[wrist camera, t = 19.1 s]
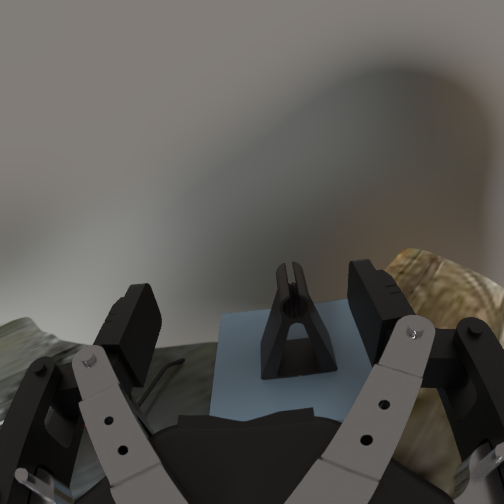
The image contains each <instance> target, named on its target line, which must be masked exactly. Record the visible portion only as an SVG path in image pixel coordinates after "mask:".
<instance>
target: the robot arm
mask: <svg viewBox="0 0 504 504" xmlns="http://www.w3.org/2000/svg"><path fill="white" fill-rule="evenodd" d="M347 297H348V304H349V308H350V311H351V313H352V316H353V318H354V321H355V323H356V326H357V329H358V331H359V334H360V336H361V339H362V342H363V344H364V347H365V350H366V352H367V355H368V358H369V361H370V363H371V366H372V370H371V372H370V374H369V376H368V378H367V380H366V382H365V384H364V386H363V388H362V390H361V391H360V393H359V395H358V397H357V399H356V401H355V402H354V404H353V406H352V408H351V409H350V411H349V413H348V415H347V416H346V418H345V420H344V421H343V423H342V422H339V421H337V420H333V419H330V418H325V417H319V416H314V410H313V407H310V408H303V409H295V410H286V411H278V412H275V413H272V414H269V415H266V416H262V417H259V418H255V419H252V420H248V421H237V420H232V419H226V418H221V417H216V416H211V415H201V416H187V415H179V417H178V424H177V425H173V426H170V427H167V428H165V429H162V430H160V431H158V432H157V433H154V431H153V430H152V428H151V427H150V425H149V423H148V422H147V420H146V418H145V417H144V415H143V413H142V411H141V410H140V408H139V406H138V404H137V402H136V401H135V399H134V397H133V395H132V394H131V391H132V388H133V387H144V383H145V380H146V376H147V373H148V369H149V366H150V362H151V359H152V356H153V352H154V349H155V345H156V342H157V339H158V336H159V332H160V329H161V325H162V318H161V314H160V310H159V308H158V305H157V302H156V299H155V297H154V294H153V291H152V288H151V286H150V285H149V284H148V283H145V284H134V285H130V287H129V289H128V291H127V292H126V294H125V296H124V297H121V298H120V299H119V300H118V301H117V302H116V303H115V304H114V305H113V306H112V308H111V310H110V312H109V315H108V316H107V318H106V319H105V323H104V324H103V325H102V327H101V329H100V331H99V333H98V335H97V337H96V340H95V342H94V344H93V345H91V346H87V347H85V348H83V349H81V350H80V351H79V352H77V354H76V355H75V356H74V358H73V360H72V362H70V363H66V364H62V365H58V366H57V364H56V363H55V361H54V360H53V359H52V358H51V357H47V356H45V357H41V358H38V359H37V360H35V361H34V362H33V363H32V364H31V365H30V366H29V368H28V370H27V372H26V374H25V376H24V378H23V380H22V382H21V384H20V386H19V388H18V390H17V393H16V395H15V397H14V399H13V401H12V404H11V406H10V408H9V411H8V413H7V415H6V418H5V420H4V422H3V425H2V427H1V430H0V504H504V349H503V348H502V346H501V344H500V343H499V341H498V340H497V338H496V336H495V335H494V333H493V332H492V330H491V329H490V327H489V326H488V325H487V324H486V323H485V322H484V321H482V320H480V319H478V318H473V317H468V318H464V319H462V320H461V321H460V322H459V323H458V325H457V327H456V329H437V328H434V325H433V324H432V323H431V322H430V321H429V320H428V319H426V318H424V317H422V316H418V315H416V314H415V312H414V311H413V309H412V308H411V306H410V304H409V303H408V301H407V299H406V298H405V296H404V295H403V293H401V290H400V288H399V287H398V286H397V284H396V282H395V281H394V279H393V278H392V276H391V275H389V274H388V273H386V272H385V271H383V270H375V268H374V266H373V265H372V263H371V262H370V260H369V259H363V260H356V261H350V263H349V274H348V292H347ZM420 387H421V388H437V390H438V393H439V395H440V398H441V400H442V403H443V406H444V409H445V411H446V414H447V417H448V420H449V423H450V426H451V428H452V431H453V434H454V437H455V441H456V444H457V447H458V450H459V453H460V457H461V460H462V463H461V464H460V466H459V467H458V468H457V470H456V473H455V476H454V484H455V489H454V494H453V496H452V498H451V497H450V496H449V495H448V494H447V493H445V492H444V491H442V490H441V489H439V488H438V487H436V486H434V485H433V484H431V483H430V482H428V481H427V480H425V479H424V478H422V477H420V476H419V475H417V474H416V473H414V472H413V471H411V470H410V469H408V468H407V467H406V466H404V465H403V464H401V463H400V462H398V461H397V460H395V459H394V458H392V455H393V453H394V451H395V449H396V446H397V444H398V442H399V440H400V437H401V435H402V433H403V431H404V428H405V426H406V423H407V421H408V418H409V416H410V413H411V411H412V408H413V406H414V403H415V400H416V397H417V395H418V392H419V389H420ZM49 406H51V407H52V408H53V409H54V410H55V411H54V413H53V416H52V419H51V422H50V425H49V428H48V431H46V429H45V425H44V421H45V417H46V414H47V412H48V409H49ZM85 425H86V428H87V430H88V433H89V436H90V438H91V441H92V443H93V446H94V448H95V451H96V453H97V456H98V458H99V460H100V463H101V465H102V467H103V469H104V471H105V474H106V476H105V477H104V478H103V479H102V480H100V481H99V482H98V483H97V484H96V485H95V486H93V487H92V488H91V489H90V490H89V491H87V492H86V493H85V494H84V495H82V496H81V497H80V498H79V499H78V500H76V501H74V500H73V496H72V493H71V490H70V489H69V487H70V482H71V477H72V473H73V468H74V464H75V460H76V456H77V452H78V448H79V444H80V440H81V436H82V433H83V429H84V426H85Z"/></svg>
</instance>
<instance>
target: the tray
mask: <svg viewBox="0 0 504 504" xmlns="http://www.w3.org/2000/svg"><path fill="white" fill-rule="evenodd" d="M314 305H315V307H316V309H317V311H318V313H319V315H320V317H321V319H322V321H323V323H324V325H325V327H326V329H327V331H328V333H329V335H330V339H331V343H332V347H333V351H334V355H335V359H336V363H337V367H338V370H337V371H335V372H328V373H321V374H314V375H306V376H301V375H299V376H298V377H290V378H280V379H270V380H262V379H261V348H260V342H261V339H262V336H263V333H264V330H265V327H266V324H267V321H268V317H269V314H270V311H271V309H264V310H255V311H245V312H235V313H224V314H222V315H221V322H220V330H219V338H218V346H217V354H216V362H215V371H214V379H213V388H212V396H211V405H210V414H209V415H211V416H216V417H221V418H226V419H232V420H237V421H248V420H252V419H255V418H259V417H262V416H266V415H269V414H272V413H275V412H278V411H286V410H295V409H303V408H310V407H313V410H314V416H319V417H325V418H330V419H333V420H337V421H339V422H343V421H344V420H345V418H346V416H347V415H348V413H349V411H350V409H351V408H352V406H353V404H354V402H355V401H356V399H357V397H358V395H359V393H360V391H361V390H362V388H363V386H364V384H365V382H366V380H367V378H368V376H369V374H370V372H371V370H372V366H371V363H370V361H369V358H368V355H367V352H366V350H365V347H364V344H363V342H362V339H361V336H360V334H359V331H358V329H357V326H356V323H355V321H354V318H353V316H352V313H351V311H350V308H349V304H348V299H343V300H335V301H328V302H322V303H314ZM300 338H308V334H307V332H306V330H305V327H304V325H303V324H301V323H294V324H292V325H291V326H290V328H289V332H288V336H287V340H292V339H300Z"/></svg>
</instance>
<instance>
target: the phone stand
mask: <svg viewBox="0 0 504 504" xmlns="http://www.w3.org/2000/svg"><path fill="white" fill-rule="evenodd" d="M292 264H293V269H294V275H295V280H296V283H292V284H291V285H290V284H289V283H288V278H287V272H286V266H285V263H283V264H281V265H280V266H279V267H278V268H277V271H276V279H277V292H276V295H275V299H274V302H273V305H272V308H271V311H270V314H269V317H268V321H267V324H266V327H265V330H264V333H263V336H262V339H261V342H260V348H261V379H262V380H270V379H280V378H290V377H298V376H299V375H301V376H306V375H314V374H321V373H328V372H335V371H337V370H338V367H337V363H336V359H335V355H334V351H333V347H332V343H331V339H330V335H329V333H328V331H327V329H326V327H325V325H324V323H323V321H322V319H321V317H320V315H319V313H318V311H317V309H316V307H315V305H314V303H313V301H312V300H311V298H310V296H309V293H308V289H307V285H306V281H305V277H304V273H303V269H302V267H301V265H299V264H298V263H296V262H293V263H292ZM294 323H301V324H303V325H304V327H305V330H306V332H307V334H308V338H300V339H292V340H287V336H288V332H289V328H290V326H291V325H292V324H294Z"/></svg>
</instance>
